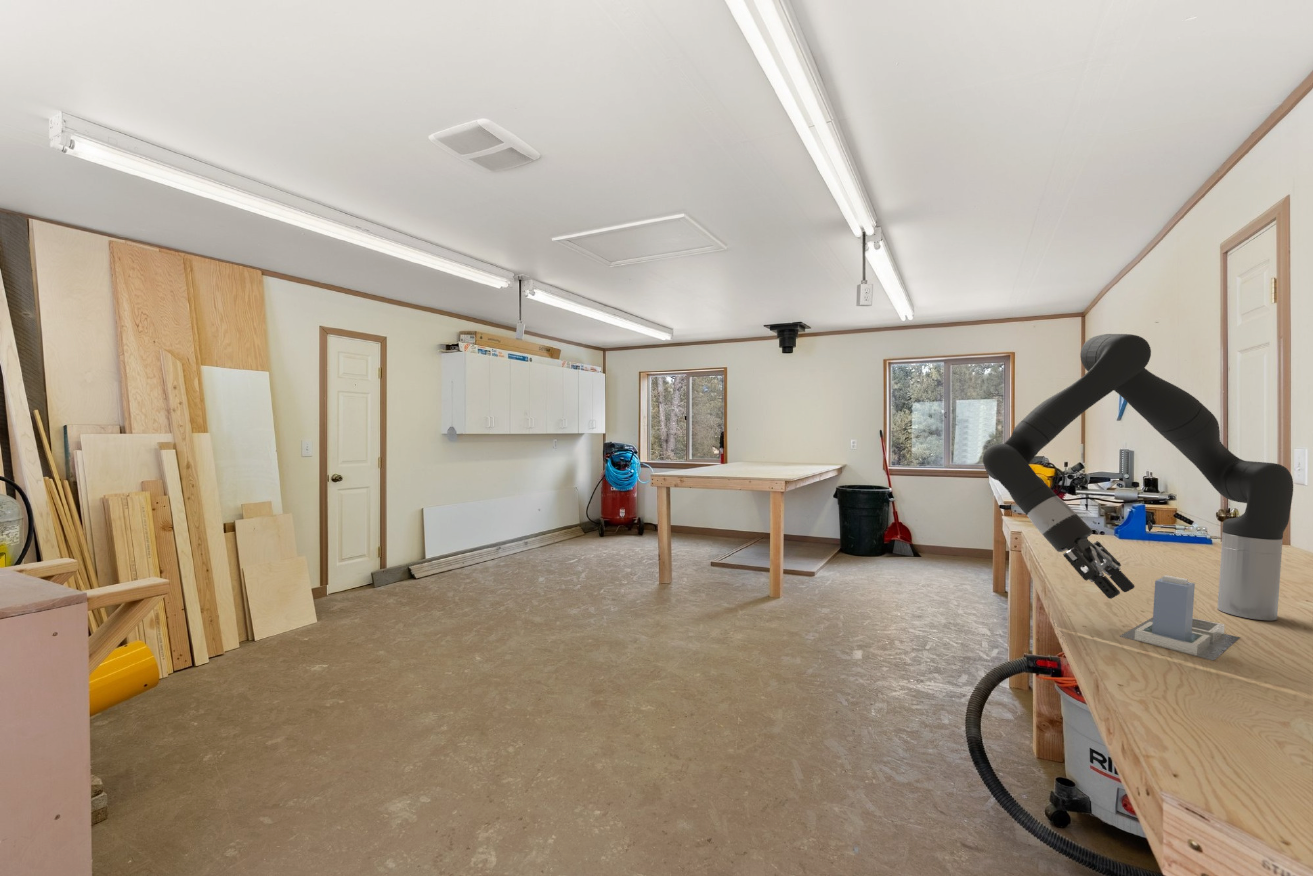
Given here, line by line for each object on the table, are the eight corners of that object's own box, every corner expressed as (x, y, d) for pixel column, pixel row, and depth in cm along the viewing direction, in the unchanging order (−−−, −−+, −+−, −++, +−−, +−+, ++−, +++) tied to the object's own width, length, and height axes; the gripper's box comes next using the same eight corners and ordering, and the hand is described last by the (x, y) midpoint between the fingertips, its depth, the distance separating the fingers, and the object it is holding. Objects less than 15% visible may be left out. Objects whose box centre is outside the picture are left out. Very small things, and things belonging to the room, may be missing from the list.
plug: (1159, 635, 111) (1163, 573, 110) (1190, 643, 107) (1195, 579, 107) (1151, 640, 108) (1155, 576, 108) (1183, 648, 104) (1187, 582, 104)
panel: (1152, 620, 122) (1153, 608, 122) (1240, 640, 111) (1240, 627, 111) (1119, 639, 110) (1120, 626, 110) (1213, 664, 100) (1214, 650, 99)
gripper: (1060, 515, 115) (1129, 588, 106) (1087, 510, 124) (1152, 578, 115) (1028, 537, 120) (1092, 609, 111) (1056, 531, 128) (1117, 597, 119)
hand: (1123, 593), depth 113 cm, fingers open, 8 cm apart
